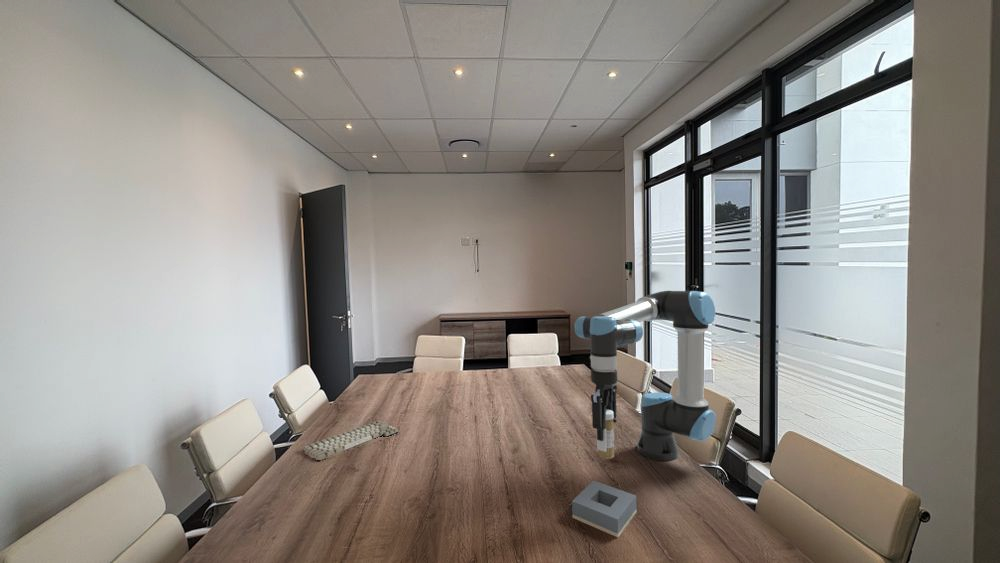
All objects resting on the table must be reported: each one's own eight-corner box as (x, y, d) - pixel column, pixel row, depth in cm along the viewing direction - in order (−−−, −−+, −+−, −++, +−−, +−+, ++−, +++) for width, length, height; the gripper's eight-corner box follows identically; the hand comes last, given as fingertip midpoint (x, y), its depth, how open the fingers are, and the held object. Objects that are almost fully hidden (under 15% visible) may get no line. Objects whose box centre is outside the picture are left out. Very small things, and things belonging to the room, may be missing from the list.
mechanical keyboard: (321, 466, 148) (320, 458, 148) (300, 453, 160) (299, 445, 160) (401, 434, 177) (401, 427, 177) (378, 425, 189) (378, 418, 189)
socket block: (593, 495, 123) (593, 480, 123) (636, 512, 114) (636, 495, 114) (572, 517, 112) (572, 501, 112) (618, 537, 104) (617, 519, 103)
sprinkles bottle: (603, 450, 116) (602, 407, 115) (617, 455, 113) (616, 410, 112) (595, 456, 112) (594, 411, 112) (610, 461, 109) (609, 415, 109)
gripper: (603, 361, 121) (605, 433, 122) (578, 373, 108) (580, 454, 108) (627, 364, 117) (628, 439, 117) (603, 377, 103) (605, 462, 104)
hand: (605, 446), depth 113 cm, fingers closed on sprinkles bottle, 4 cm apart
